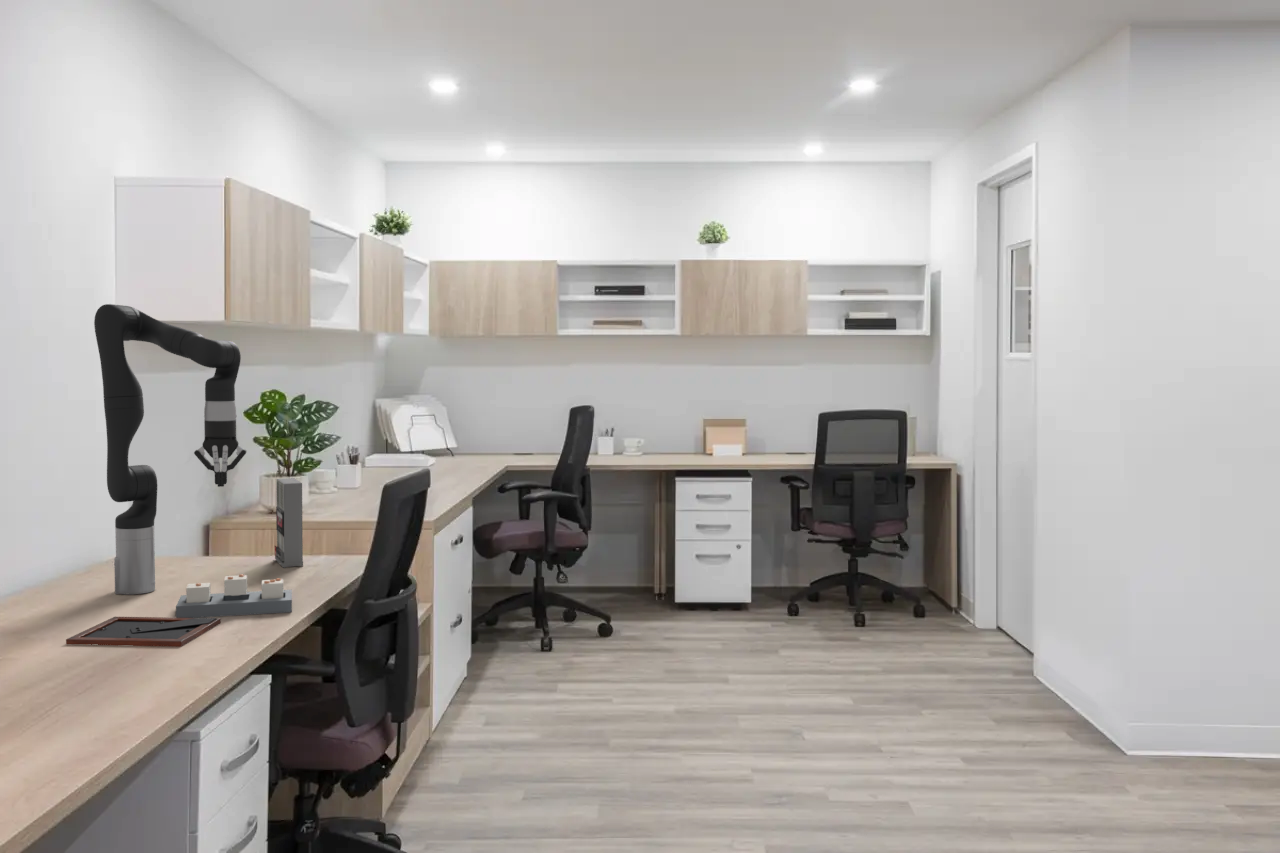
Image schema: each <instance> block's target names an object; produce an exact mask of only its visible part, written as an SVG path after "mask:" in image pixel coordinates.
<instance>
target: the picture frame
mask: <svg viewBox="0 0 1280 853" xmlns="http://www.w3.org/2000/svg"><path fill="white" fill-rule="evenodd" d="M221 620H222V618H219V617H200V618H176V617H167V616H166V617H159V616H158V617H157V616H155V617H151V616H113V617H111V618H109V619H107V620H105V621H103V622H100V623H99V624H96V625H94V626H92V627H89V628H87V629H85V630H83V631H81V632H79V633H76V634H74V635H73V636H70V637H67V638H66V639H65V645H66V644H91V645H90V646H93V645H92V644H98V645H97V646H118V645H133V646H132V647H138V646H139V647H172V648H173V647H175V648H176V647H177V648H179V647H183V646H185V645H186V644H189V643H190V642H192V641H194V640H195V639H197V638H199V637H200V636H202V635H204V634H206V633H207V632H209V631H210V630H212V629H214V628H215V627H218V626H219V625H221Z"/></svg>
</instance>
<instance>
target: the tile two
mask: <svg viewBox="0 0 1280 853" xmlns="http://www.w3.org/2000/svg"><path fill="white" fill-rule="evenodd" d="M223 582H224V583H223V584H224V585H223V588H224V589H223V591H224V592H223V593H224V596H227V595H231V596H240V595H246V594H247V592H248V574H243V573H241V574H240V573H239V574H236V575H225V576H224V580H223Z"/></svg>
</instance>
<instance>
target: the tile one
mask: <svg viewBox="0 0 1280 853" xmlns="http://www.w3.org/2000/svg"><path fill="white" fill-rule="evenodd" d="M185 590H186V593H185V595H186V603H197V602H209V601H210V594H211V582H200V583H199V582H198V583H197V582H196V583H187V585H186V587H185Z"/></svg>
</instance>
